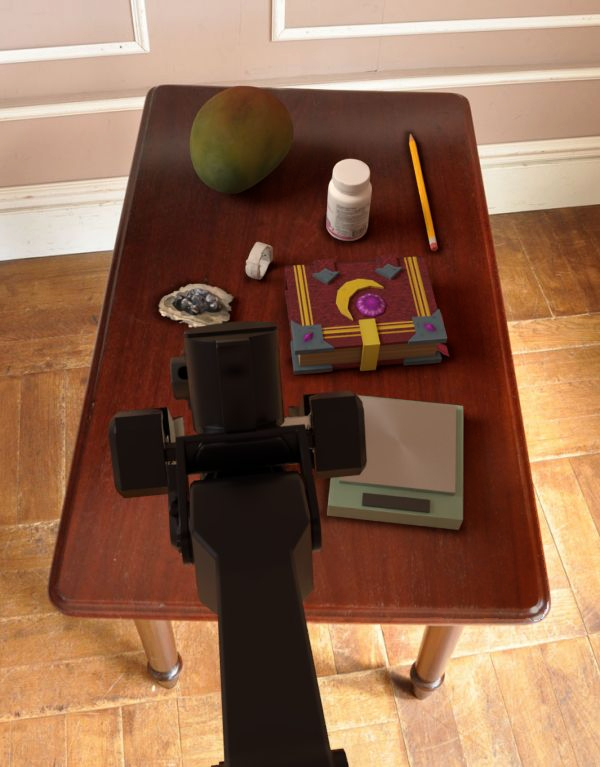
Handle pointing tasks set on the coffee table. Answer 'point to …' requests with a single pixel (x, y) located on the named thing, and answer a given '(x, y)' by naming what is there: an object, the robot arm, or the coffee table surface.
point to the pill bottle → (349, 200)
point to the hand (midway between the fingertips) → (236, 417)
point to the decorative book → (362, 314)
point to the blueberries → (197, 305)
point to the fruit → (240, 138)
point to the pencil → (423, 195)
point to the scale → (406, 466)
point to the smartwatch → (259, 260)
